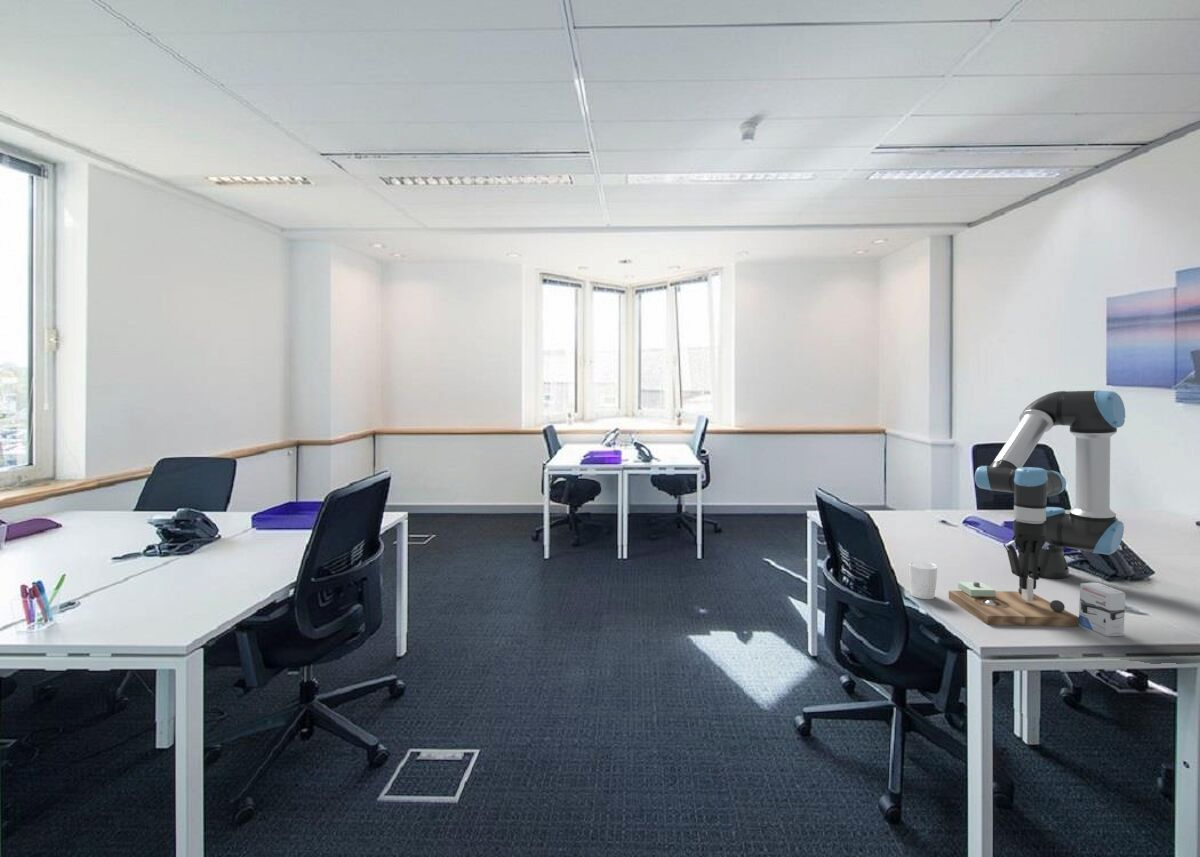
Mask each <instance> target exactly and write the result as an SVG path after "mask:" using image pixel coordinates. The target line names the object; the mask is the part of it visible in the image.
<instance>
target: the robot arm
mask: <svg viewBox="0 0 1200 857" xmlns="http://www.w3.org/2000/svg"><path fill="white" fill-rule="evenodd" d="M1124 404H1125V403H1124V402H1123V399H1122V398H1121V396H1120V394H1118V393H1117V392H1115V391H1111V390H1100V389H1099V390H1075V391H1074V390H1073V391H1072V390H1060V391H1059V390H1058V391H1053V392H1050V393H1047V394H1045V395H1042V396H1041V397H1038V398H1036V399H1035V400H1034V401H1032V402H1031V403H1030V404H1028V405H1027V407H1025V408H1024V409H1023V411H1022V412H1021V414H1020V416H1019V423H1018V424H1017V426H1016V427H1015V428H1014V429H1013V432H1012V433H1011V434H1010V436H1009V438H1008V439H1007V441H1006V442H1005V443H1004V445H1003V446H1002V448H1001V449H1000V450H999V452H998V454H997V455H996V456H995V458H994V460H993V462H992V463H991V464H990V465H979V467H977V468H976V470H975V471H974V472H975V473H974V482H975V485H976V486H977V487H978V488H979V489H983V490H988V491H996V492H1006V493H1013V498H1014V499H1013V500H1014V501H1013V518H1014V520H1013V522H1012V525H1013V526H1012V527H1013V528H1012V530H1013V536H1012V539H1011V541H1009V542H1004V543H1003V547H1004V548H1005V550H1006V552H1007V556H1008V560H1009V565H1010V569H1011V570H1010V571H1011V573H1012V574H1013V575H1014V576H1016V577H1018V578H1019V580H1018V581H1019V582H1018V583H1019V584H1018V585H1019V587H1020V588H1022V598H1023V599H1025V600H1026V601H1033V594H1034V590H1036V589H1037V581H1038V580H1040V578H1049V579H1064V578H1065V579H1066V578H1068V577H1069V576H1070V568H1069V566H1068V563H1067V559H1066V557H1065V555H1064V548H1067V549H1073V550H1079V551H1085V552H1088V553H1093V554H1101V555H1106V556H1107V555H1111V554H1114V553H1115V552H1116V551H1117V550H1118V548H1119V547H1120V545H1121V543H1122V539H1123V537H1124V536H1123V535H1124V532H1125V526H1124V522H1122V521H1121V520H1118V519H1117V514H1116V513H1115V512H1114V510H1112V509H1111V507H1110V506H1111V505H1110V499H1111V498H1110V497H1111V496H1110V495H1111V485H1110V484H1111V438H1112V436H1113V435H1115V434H1116V433H1117V431H1118V428H1121V427H1123V426H1124V424H1125V421H1126V420H1125V419H1126V408H1125V405H1124ZM1055 426H1066V427H1067V426H1068V427H1069V433H1070V434H1072V435H1073V436H1074V437H1075V506H1073V507H1072V508H1071V509H1070V510H1069V513H1066V510H1065V508H1062V507H1058V506H1055V507H1054V506H1047V500H1048V499H1047V498H1051V497H1055V496H1057V495H1059V494H1061V493H1062V492H1063V491H1065V489H1066V488H1067V481H1066V478H1065V476H1064V475H1062V473H1060V472H1058V471H1055V470H1046V469H1044V468H1043V467H1034V466H1033V467H1032V466H1030V467H1029V466H1024V465H1025V463H1026V462H1027V460H1028V459H1029V457H1030V456H1031V454H1032V453H1033V451H1034V450H1035V448H1036V446H1037V445H1038V444H1039V442H1040V440H1041V439H1042V437H1043V435H1044V434H1045V433H1047V432H1049V431H1051V430H1052V428H1053V427H1055Z"/></svg>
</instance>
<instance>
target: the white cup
mask: <svg viewBox="0 0 1200 857" xmlns="http://www.w3.org/2000/svg"><path fill="white" fill-rule="evenodd" d="M908 574H909V575H908V579H909V591H910V592H909V593H910V595H911V596H912V597H913V598H916V599H920V600H934V599H935V597H936V589H937V588H936V587H937V578H938V566H937V564H934V563H931V562H925V561H910V562H908Z"/></svg>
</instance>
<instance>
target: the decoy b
mask: <svg viewBox="0 0 1200 857" xmlns="http://www.w3.org/2000/svg"><path fill="white" fill-rule="evenodd" d="M1050 602H1051V603H1050V607H1051V609H1052V610H1054V611H1056V612H1062V611H1063V610H1065V608H1066V607H1065V604H1064V603H1063V601H1060V600H1058V599H1054V600H1052V601H1050Z"/></svg>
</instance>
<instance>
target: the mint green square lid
mask: <svg viewBox="0 0 1200 857" xmlns="http://www.w3.org/2000/svg"><path fill="white" fill-rule="evenodd" d="M957 585H958V586H957V589H959V591H963V592H965V593H966V594H968V595H970V596H983V597H995V591H996V589H994V588H993V587H991V586H989V585H987V584H985V583H984V582H977V581H974V582H973V581H972V582H970V581H968V582H967V581H958V583H957Z"/></svg>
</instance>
